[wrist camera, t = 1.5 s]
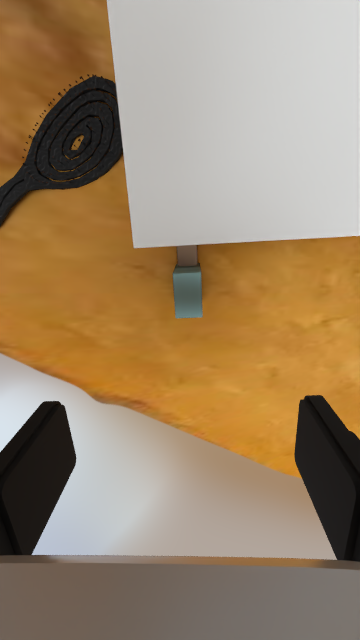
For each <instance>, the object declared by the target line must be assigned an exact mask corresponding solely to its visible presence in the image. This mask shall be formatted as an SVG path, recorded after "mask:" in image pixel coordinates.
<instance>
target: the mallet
mask: <svg viewBox="0 0 360 640" xmlns="http://www.w3.org/2000/svg"><path fill="white" fill-rule="evenodd" d="M177 258H178V264H176V267H175V269H174V272H173V285H174V300H175V315H176V318H195V317H203V316H202V285H201V269H200V263H197V245H183V246H177Z"/></svg>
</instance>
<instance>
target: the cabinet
mask: <svg viewBox="0 0 360 640" xmlns="http://www.w3.org/2000/svg"><path fill="white" fill-rule="evenodd" d="M107 7H108V16H109V25H110V34H111V44H112V53H113V62H114V71H115V80H116V89H117V99H118V108H119V117H120V126H121V135H122V144H123V153H124V163H125V172H126V181H127V190H128V199H129V208H130V218H131V227H132V236H133V245H134V248H147V247H165V246H183V245H201V244H219V243H236V242H254V241H272V240H290V239H308V238H326V237H344V236H360V0H107Z"/></svg>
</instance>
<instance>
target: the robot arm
mask: <svg viewBox="0 0 360 640" xmlns="http://www.w3.org/2000/svg"><path fill="white" fill-rule="evenodd" d="M295 462H296V465H297V468H298V470H299V472H300V474H301V477H302V479H303V481H304V484H305V486H306V488H307V491H308V493H309V495H310V498H311V500H312V502H313V505H314V507H315V509H316V512H317V514H318V516H319V518H320V521H321V523H322V526H323V528H324V530H325V532H326V535H327V537H328V540H329V542H330V544H331V547H332V549H333V551H334V553H335V556H336V558H337V560H324V559H298V558H297V559H296V558H253V557H198V556H196V557H195V556H115V555H32V553H33V550H34V549H35V546H36V545H37V542H38V540H39V538H40V536H41V534H42V532H43V530H44V528H45V526H46V524H47V522H48V520H49V518H50V516H51V514H52V512H53V510H54V508H55V506H56V504H57V502H58V500H59V497H60V495H61V493H62V491H63V489H64V487H65V485H66V483H67V481H68V479H69V477H70V474H71V473H72V471H73V469H74V467H75V463H76V454H75V450H74V445H73V441H72V437H71V432H70V427H69V423H68V419H67V414H66V410H65V406H64V405H61V403H60V402H59V401H46V402H43V403H42V404H41V405H40V406H39V407H38V408H37V410H36V411H35V412H34V413H33V414H32V416H31V417H30V418H29V419H28V420H27V421H26V423H25V424H24V425H23V426H22V428H21V429H20V430H19V431H18V432H17V433H16V435H15V436H14V437H13V438H12V439H11V441H10V442H9V443H8V444H7V445H6V446H5V448H4V449H3V450H2V451H1V452H0V640H360V440H359V438H358V437H357V436H356V435H355V434H354V433H353V432H351V431H349V430H348V429H347V428H346V426H345V425H344V424H343V422H342V421H341V420H340V418H339V417H338V416H337V414H336V413H335V412H334V410H333V409H332V408H331V407H330V405H329V404H328V403H327V401H326V400H325V399H324V397H323V396H321V395H312V396H305V398H304V400H300V403H299V413H298V424H297V434H296V444H295Z"/></svg>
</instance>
